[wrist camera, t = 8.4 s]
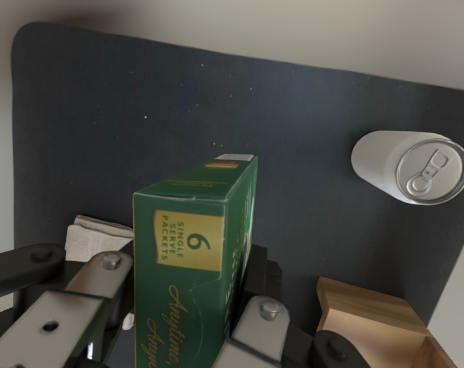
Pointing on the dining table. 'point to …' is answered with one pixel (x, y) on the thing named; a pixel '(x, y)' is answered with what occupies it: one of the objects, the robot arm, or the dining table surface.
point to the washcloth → (96, 243)
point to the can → (411, 165)
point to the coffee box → (191, 260)
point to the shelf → (379, 327)
